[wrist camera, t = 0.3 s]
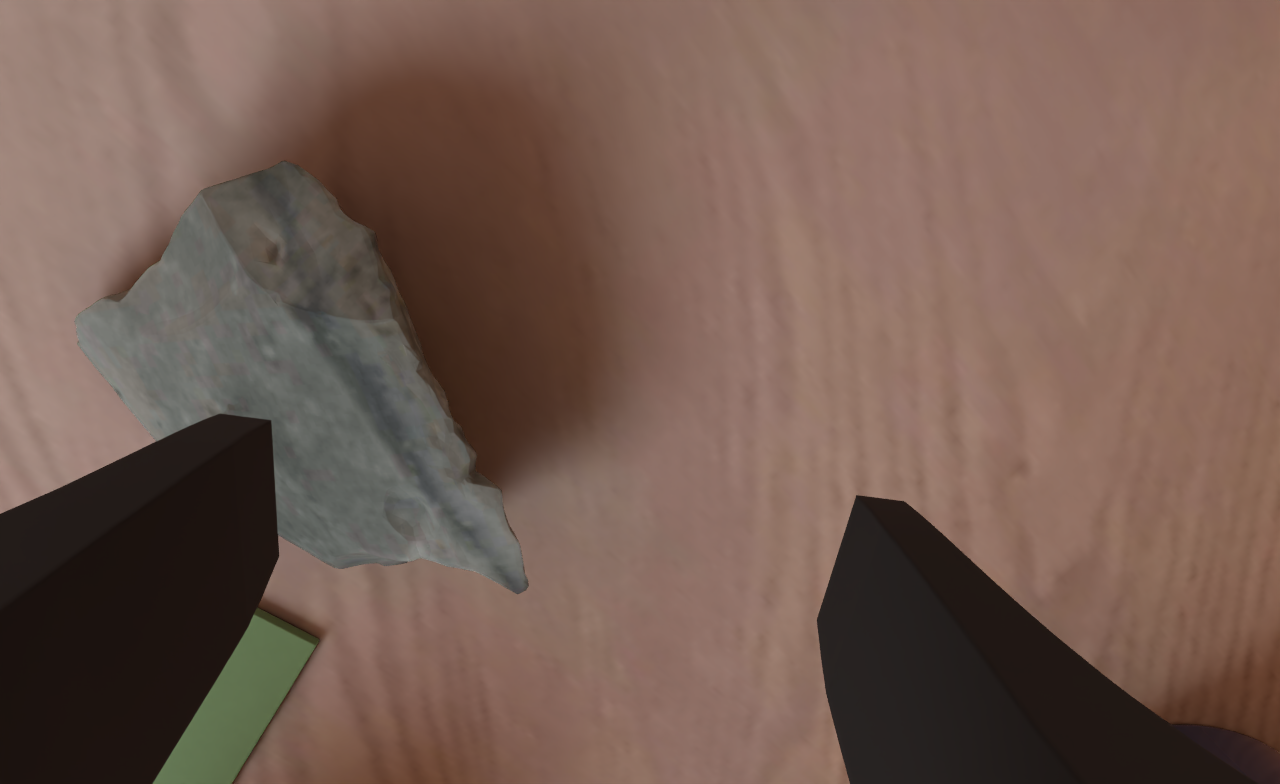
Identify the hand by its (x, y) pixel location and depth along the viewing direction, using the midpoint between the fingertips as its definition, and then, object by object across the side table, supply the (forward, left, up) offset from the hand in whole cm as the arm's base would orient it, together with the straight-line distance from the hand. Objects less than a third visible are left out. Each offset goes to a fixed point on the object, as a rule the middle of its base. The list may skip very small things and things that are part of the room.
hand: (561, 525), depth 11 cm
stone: (-5, +5, -11) cm, 13 cm away
